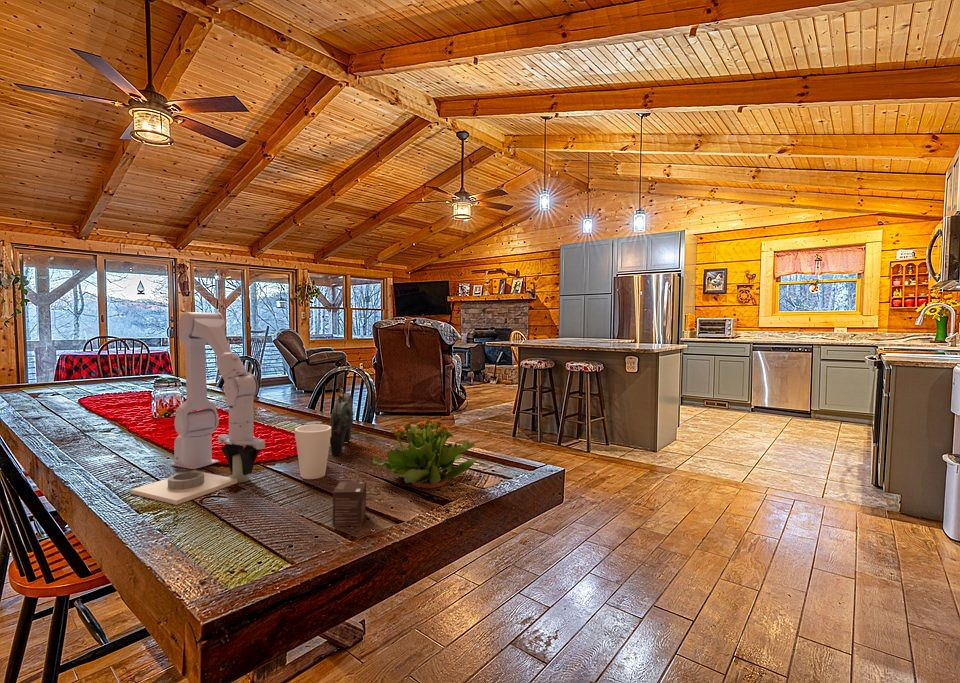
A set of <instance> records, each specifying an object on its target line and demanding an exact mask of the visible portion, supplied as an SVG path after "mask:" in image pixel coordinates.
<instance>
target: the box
mask: <svg viewBox="0 0 960 683" xmlns="http://www.w3.org/2000/svg"><path fill="white" fill-rule="evenodd" d="M332 494H333V495H332V496H333V497H332V526H333V527H341V526H362V525H363V522H364V519H365V517H366V512H367V510H366V509H367V482H366V481H339V482H338V483H337V484H336V487H335V488H334V489H333V491H332Z"/></svg>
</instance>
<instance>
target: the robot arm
mask: <svg viewBox="0 0 960 683" xmlns="http://www.w3.org/2000/svg"><path fill="white" fill-rule="evenodd" d="M225 327H226V321H225V318H224V316H223V314H222V313H221V312H218V311H217V312H199V311H198V312H196V311H195V312H194V311H191V312H190V311H184V312H182V314H181V315H180V317H179V319H178V338H179V341H180V342H182V343H184V366H185V388H186V389H185V390H186V400H185V401H184V402H183V403H182V404H180V405H179V406H177V408H175V418H174V429H175V432H176V433H177V434H178V435H177V436H176V437H175V439H174V444H173V445H174V446H173V448H174V452H173V457H174V459H173V460H174V462H172V463H171V466H174V467H179V468H183V469H190V470H196V469H200V468H204V467H206V466H209V465H214V464H216V463H219V461H220V460H218V459H214V458H212V453H213V452H212V448H213V447H212V433H214V432H215V430H216V429H217V428H218V426H219V422H220V416H219V414H218V412H217V404H215V403H214V402H212V401H210V400H209V398H208V389H207V388H208V387H207V386H208V385H207V384H208V383H207V365H206V363H207V362H206V345H207V343H208V345H209V347H210V348H211V349H212V351H213V352H214V354H215V356H216V358H217V359H216V362H215V365H216V367H217V369H218V371H219V374H220V375H221V377H222V380H223V381H224V386H223V392H224V395H225V398H226V400H225V401H226V405H228V434H225V433H224V434H220V435H217V436H218V438H217V443H218V444H225V445H223V446H220V450H221V452H222V453H223V455H224V456H225V459H226V462H227V464H228V468H229V471H230V473H232V474H233V455H236V454H240V457H241V460H242V470H243V475H248V474H250V475H251V474H252V473H253V469H254V465H255V462H256V459H257V458H258V456H259V454H260V452H261V450H262V449H264V448H266V440H264V439H261V438H258V437H255V436H254V396H256V395H257V394H258V391H259V381H258V379H257V377H256V375H255V374H252V373H251V372H250V371H247V369H246V367H245V365H244V363H243V362H242V360H241V358H240V356H239V355H238V354H237V353H236V352H235V353H234V352H232V349H231V347H230V344H229V342H228V339H227V336H226V335H225V330H226V329H225Z"/></svg>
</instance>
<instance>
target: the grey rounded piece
mask: <svg viewBox="0 0 960 683" xmlns="http://www.w3.org/2000/svg"><path fill="white" fill-rule="evenodd" d="M250 475H251V474H248V475H243V470H242V460H241V457H240V454H236V455H233V473H232V478H235V479H237V483H236V484H238V483H239V484H240V483H245V482H248V481H250V479H251V478H250Z"/></svg>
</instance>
